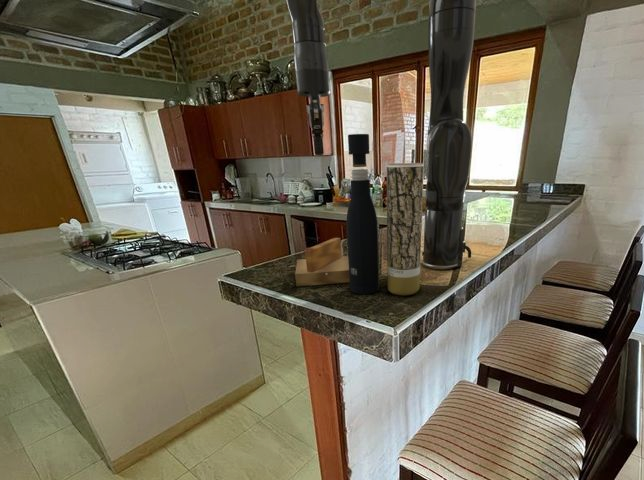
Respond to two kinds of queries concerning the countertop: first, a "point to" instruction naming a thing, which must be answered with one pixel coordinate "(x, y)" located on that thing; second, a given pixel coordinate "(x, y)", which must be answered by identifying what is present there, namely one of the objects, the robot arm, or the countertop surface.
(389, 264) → the paper tube
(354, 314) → the countertop surface
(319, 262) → the tan wooden flat block
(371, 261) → the black water bottle
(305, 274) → the wooden box
